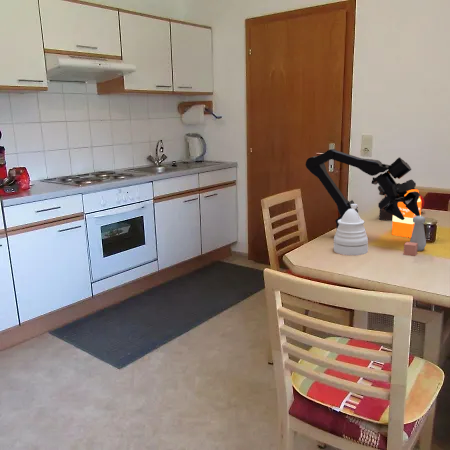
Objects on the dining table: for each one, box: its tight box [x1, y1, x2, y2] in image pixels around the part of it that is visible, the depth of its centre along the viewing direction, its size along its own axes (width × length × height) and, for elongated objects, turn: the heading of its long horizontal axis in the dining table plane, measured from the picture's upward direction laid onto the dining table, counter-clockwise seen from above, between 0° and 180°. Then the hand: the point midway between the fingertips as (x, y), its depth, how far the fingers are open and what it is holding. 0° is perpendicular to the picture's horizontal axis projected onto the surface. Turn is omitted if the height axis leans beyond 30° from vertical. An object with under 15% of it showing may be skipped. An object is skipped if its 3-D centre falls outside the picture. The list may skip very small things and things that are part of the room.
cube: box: [403, 241, 418, 257], centre depth 168 cm, size 4×4×4 cm
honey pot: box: [333, 203, 369, 256], centre depth 174 cm, size 13×13×18 cm
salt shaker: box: [409, 215, 427, 252], centre depth 172 cm, size 6×6×13 cm
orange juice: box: [391, 188, 422, 239], centre depth 192 cm, size 8×9×20 cm
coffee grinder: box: [377, 185, 393, 222], centre depth 221 cm, size 16×11×18 cm
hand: (411, 217), depth 173 cm, fingers open, 9 cm apart
